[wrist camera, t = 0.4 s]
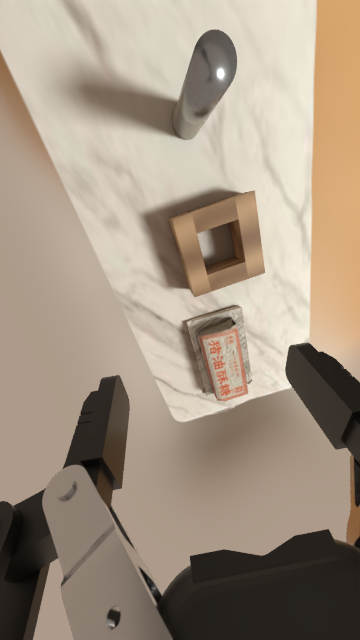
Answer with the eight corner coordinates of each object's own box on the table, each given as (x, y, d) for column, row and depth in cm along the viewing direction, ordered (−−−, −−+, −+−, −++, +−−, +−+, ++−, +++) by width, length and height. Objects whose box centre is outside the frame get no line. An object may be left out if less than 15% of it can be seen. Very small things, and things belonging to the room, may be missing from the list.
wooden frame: (168, 218, 32) (171, 219, 28) (241, 193, 32) (254, 190, 28) (189, 289, 36) (194, 297, 33) (253, 267, 36) (265, 272, 33)
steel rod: (168, 109, 26) (186, 38, 16) (196, 99, 26) (232, 22, 16) (177, 143, 28) (199, 100, 17) (203, 134, 28) (240, 86, 17)
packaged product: (260, 394, 43) (211, 409, 43) (249, 377, 48) (205, 391, 47) (250, 314, 35) (190, 332, 35) (238, 303, 40) (184, 319, 39)
